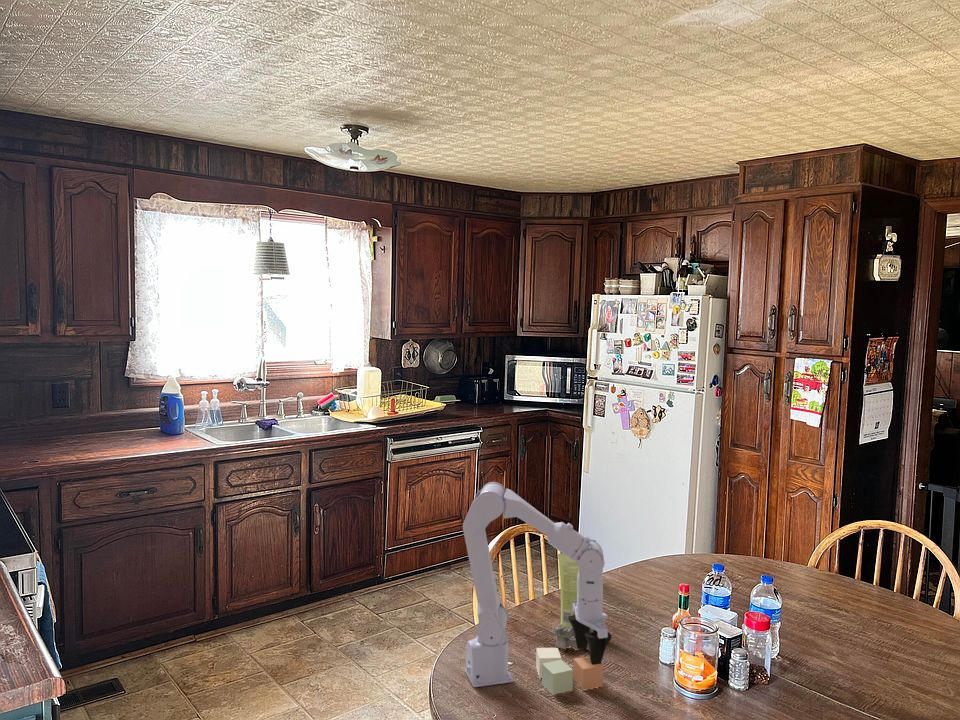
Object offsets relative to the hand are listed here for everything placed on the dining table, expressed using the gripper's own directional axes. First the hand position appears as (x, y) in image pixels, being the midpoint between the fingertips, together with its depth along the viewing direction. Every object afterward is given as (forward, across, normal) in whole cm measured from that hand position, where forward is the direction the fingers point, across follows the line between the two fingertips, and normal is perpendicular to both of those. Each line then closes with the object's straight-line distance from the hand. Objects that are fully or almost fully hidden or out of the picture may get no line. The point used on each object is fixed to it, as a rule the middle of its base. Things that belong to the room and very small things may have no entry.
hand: (588, 655), depth 162 cm
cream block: (+7, +6, +7) cm, 12 cm away
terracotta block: (+7, 0, 0) cm, 7 cm away
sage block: (+7, 0, +8) cm, 10 cm away
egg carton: (+7, +19, -5) cm, 21 cm away
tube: (+7, +28, -8) cm, 30 cm away
